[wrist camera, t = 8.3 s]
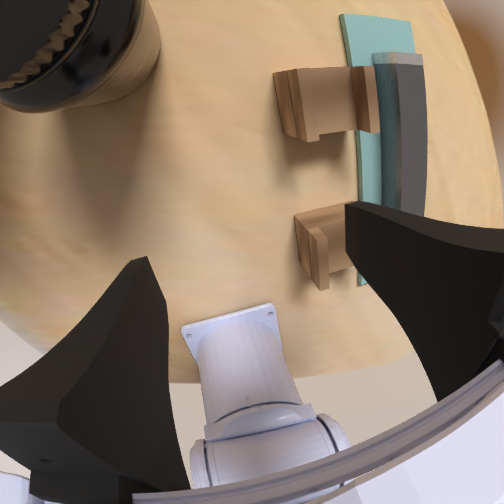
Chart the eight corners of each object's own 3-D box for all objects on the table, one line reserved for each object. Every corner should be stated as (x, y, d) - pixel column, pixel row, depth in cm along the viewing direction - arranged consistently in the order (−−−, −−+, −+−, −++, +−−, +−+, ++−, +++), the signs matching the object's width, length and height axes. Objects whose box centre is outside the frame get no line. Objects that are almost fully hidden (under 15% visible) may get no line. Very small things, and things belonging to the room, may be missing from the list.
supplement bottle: (131, -16, 11) (83, -124, 1) (181, 62, 15) (180, 5, 5) (39, 48, 12) (-91, 32, 1) (86, 126, 15) (-31, 182, 5)
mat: (408, 263, 27) (412, 266, 26) (357, 281, 26) (361, 285, 26) (405, 22, 15) (410, 21, 15) (339, 15, 15) (343, 13, 14)
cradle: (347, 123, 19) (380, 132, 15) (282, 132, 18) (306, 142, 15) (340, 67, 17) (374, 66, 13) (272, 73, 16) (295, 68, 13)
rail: (401, 243, 24) (418, 258, 22) (379, 251, 24) (395, 266, 22) (399, 54, 16) (421, 54, 14) (371, 53, 16) (393, 51, 14)
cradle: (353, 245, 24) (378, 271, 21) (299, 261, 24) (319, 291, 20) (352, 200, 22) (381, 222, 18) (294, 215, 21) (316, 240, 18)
